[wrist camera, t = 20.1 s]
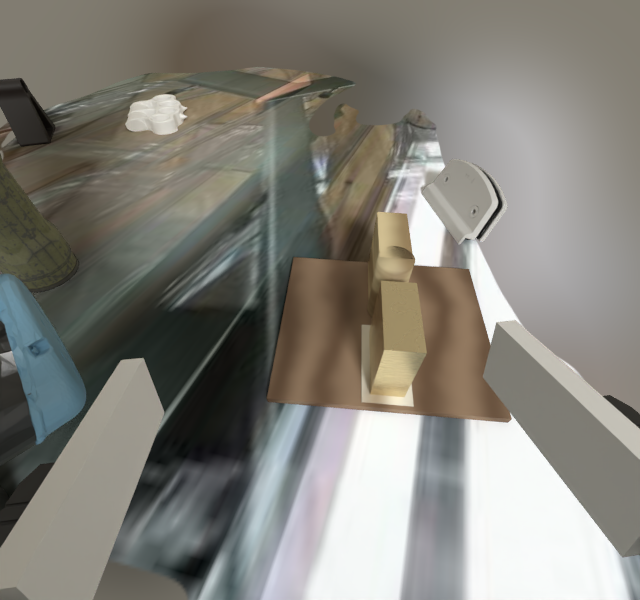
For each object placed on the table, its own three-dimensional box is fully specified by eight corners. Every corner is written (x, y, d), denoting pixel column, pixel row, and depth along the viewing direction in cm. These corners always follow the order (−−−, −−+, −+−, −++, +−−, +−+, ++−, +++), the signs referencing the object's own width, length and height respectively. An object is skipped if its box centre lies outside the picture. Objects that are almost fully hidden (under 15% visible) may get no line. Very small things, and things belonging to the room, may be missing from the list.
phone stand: (49, 143, 79) (15, 86, 70) (21, 146, 78) (-19, 88, 69) (55, 127, 85) (24, 72, 75) (28, 130, 83) (-7, 74, 74)
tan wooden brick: (370, 394, 39) (384, 349, 32) (369, 331, 45) (380, 280, 37) (404, 397, 39) (426, 353, 32) (399, 333, 45) (416, 283, 37)
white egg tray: (134, 110, 93) (189, 105, 96) (127, 139, 82) (189, 133, 85) (129, 96, 91) (185, 92, 93) (121, 125, 79) (185, 119, 82)
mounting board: (267, 401, 40) (255, 354, 31) (294, 261, 55) (290, 204, 47) (507, 422, 39) (562, 378, 30) (466, 273, 54) (495, 217, 46)
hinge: (420, 192, 69) (450, 145, 62) (438, 196, 71) (469, 151, 64) (458, 245, 59) (499, 196, 52) (478, 249, 60) (520, 201, 54)
